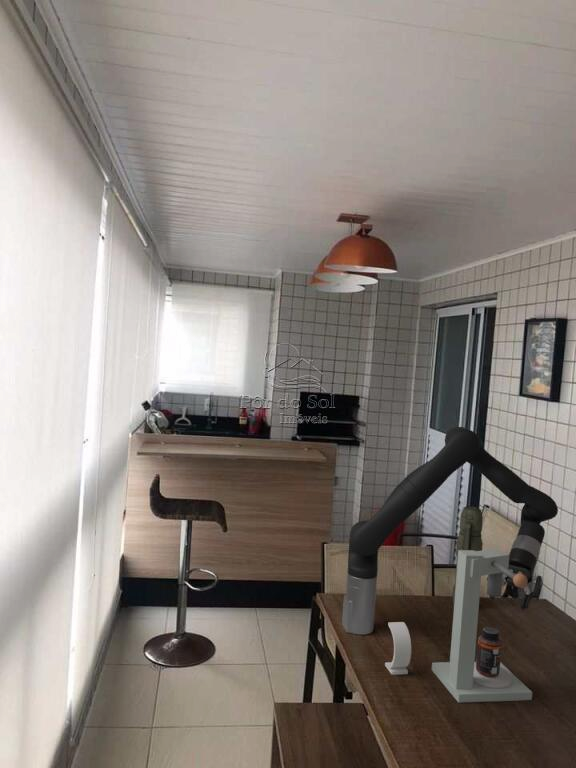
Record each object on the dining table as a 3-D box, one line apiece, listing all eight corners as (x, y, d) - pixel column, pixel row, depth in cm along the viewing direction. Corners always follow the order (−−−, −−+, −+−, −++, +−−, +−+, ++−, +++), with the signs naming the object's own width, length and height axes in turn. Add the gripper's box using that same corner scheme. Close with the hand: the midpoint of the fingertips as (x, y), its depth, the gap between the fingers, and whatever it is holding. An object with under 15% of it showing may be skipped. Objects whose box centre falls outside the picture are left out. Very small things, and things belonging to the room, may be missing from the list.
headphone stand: (400, 664, 165) (403, 622, 165) (409, 676, 159) (412, 631, 159) (384, 665, 164) (388, 622, 164) (393, 676, 158) (396, 632, 158)
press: (477, 725, 138) (489, 572, 138) (431, 669, 164) (441, 539, 163) (555, 722, 142) (567, 572, 141) (498, 668, 167) (508, 540, 166)
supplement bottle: (501, 679, 155) (504, 636, 154) (477, 676, 156) (480, 633, 155) (497, 668, 160) (500, 627, 160) (474, 665, 162) (477, 624, 161)
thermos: (450, 608, 209) (457, 509, 208) (453, 597, 220) (461, 502, 219) (476, 613, 206) (484, 512, 205) (478, 602, 216) (486, 506, 216)
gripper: (497, 541, 177) (478, 589, 168) (547, 553, 167) (530, 604, 159) (502, 555, 181) (484, 603, 172) (551, 568, 172) (535, 618, 163)
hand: (506, 603), depth 166 cm, fingers open, 8 cm apart
